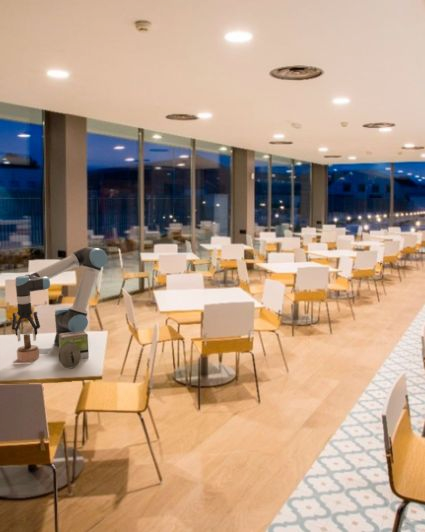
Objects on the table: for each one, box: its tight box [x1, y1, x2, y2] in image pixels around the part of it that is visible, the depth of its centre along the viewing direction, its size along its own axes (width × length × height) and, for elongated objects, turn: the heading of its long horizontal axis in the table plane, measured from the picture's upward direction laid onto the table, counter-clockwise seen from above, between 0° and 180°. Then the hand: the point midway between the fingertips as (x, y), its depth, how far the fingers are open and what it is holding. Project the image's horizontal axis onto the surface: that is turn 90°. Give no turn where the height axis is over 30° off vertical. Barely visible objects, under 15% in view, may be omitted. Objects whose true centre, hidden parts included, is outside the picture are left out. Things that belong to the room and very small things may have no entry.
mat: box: [39, 347, 52, 355], centre depth 336 cm, size 11×11×1 cm
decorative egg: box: [58, 341, 81, 369], centre depth 305 cm, size 12×12×15 cm
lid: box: [17, 333, 39, 352], centre depth 322 cm, size 11×11×9 cm
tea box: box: [58, 330, 90, 360], centre depth 323 cm, size 15×10×15 cm, turn 117°
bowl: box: [16, 347, 40, 362], centre depth 323 cm, size 12×12×6 cm
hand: (27, 340), depth 322 cm, fingers open, 8 cm apart
